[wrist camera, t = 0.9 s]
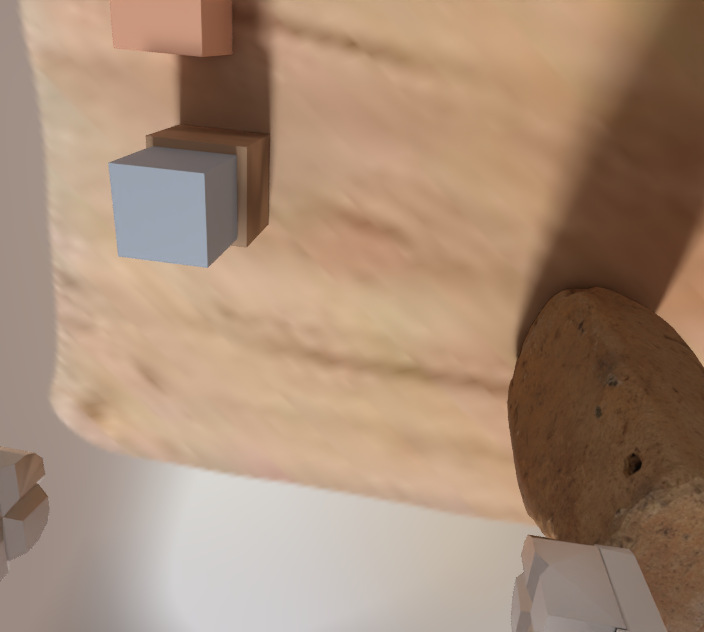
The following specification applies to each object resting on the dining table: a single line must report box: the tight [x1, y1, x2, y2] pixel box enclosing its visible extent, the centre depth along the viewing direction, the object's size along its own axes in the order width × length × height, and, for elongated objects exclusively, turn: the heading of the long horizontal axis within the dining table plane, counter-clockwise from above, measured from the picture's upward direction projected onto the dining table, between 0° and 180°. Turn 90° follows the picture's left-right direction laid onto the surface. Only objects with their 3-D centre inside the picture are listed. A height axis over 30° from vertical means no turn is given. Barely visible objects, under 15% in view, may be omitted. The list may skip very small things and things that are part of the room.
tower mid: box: [108, 146, 237, 268], centre depth 32 cm, size 5×5×5 cm
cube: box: [110, 0, 232, 57], centre depth 33 cm, size 5×5×5 cm
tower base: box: [146, 124, 270, 247], centre depth 37 cm, size 6×6×5 cm
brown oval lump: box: [507, 287, 704, 632], centre depth 32 cm, size 11×8×20 cm
